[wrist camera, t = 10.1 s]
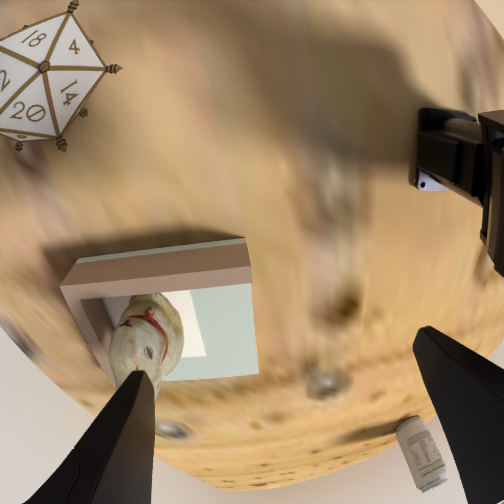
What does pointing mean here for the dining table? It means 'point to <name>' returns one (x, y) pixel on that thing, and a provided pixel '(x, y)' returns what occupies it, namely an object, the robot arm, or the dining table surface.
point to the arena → (173, 303)
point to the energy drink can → (421, 454)
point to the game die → (47, 78)
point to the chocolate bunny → (146, 339)
